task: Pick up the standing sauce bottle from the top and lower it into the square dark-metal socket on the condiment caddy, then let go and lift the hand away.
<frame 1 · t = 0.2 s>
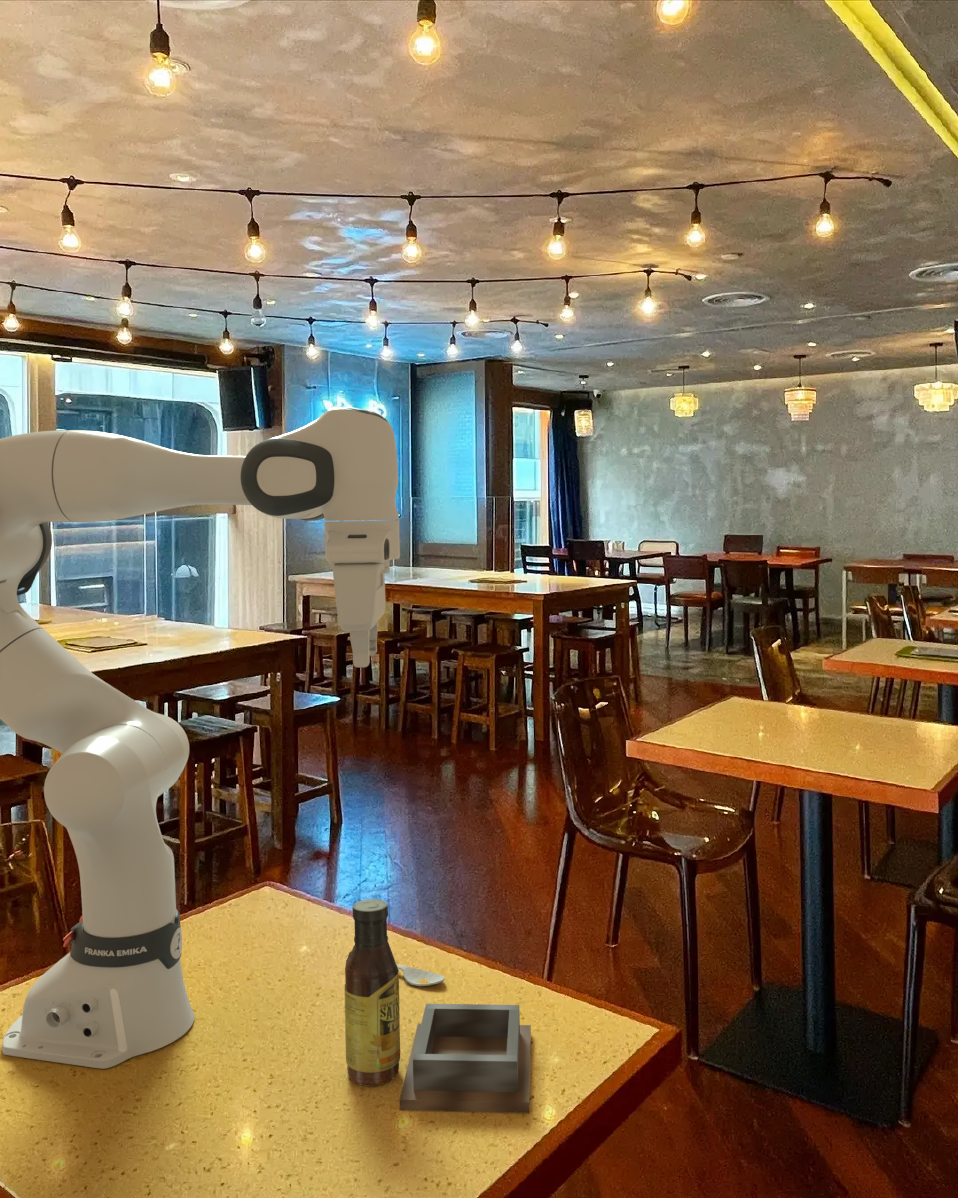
hand: (365, 660, 117), 47 cm above the table, tool pointing down, fingers open, 8 cm apart
sauce bottle: (374, 1075, 112), on the table
spoon: (384, 973, 139), on the table
caddy: (469, 1070, 113), on the table
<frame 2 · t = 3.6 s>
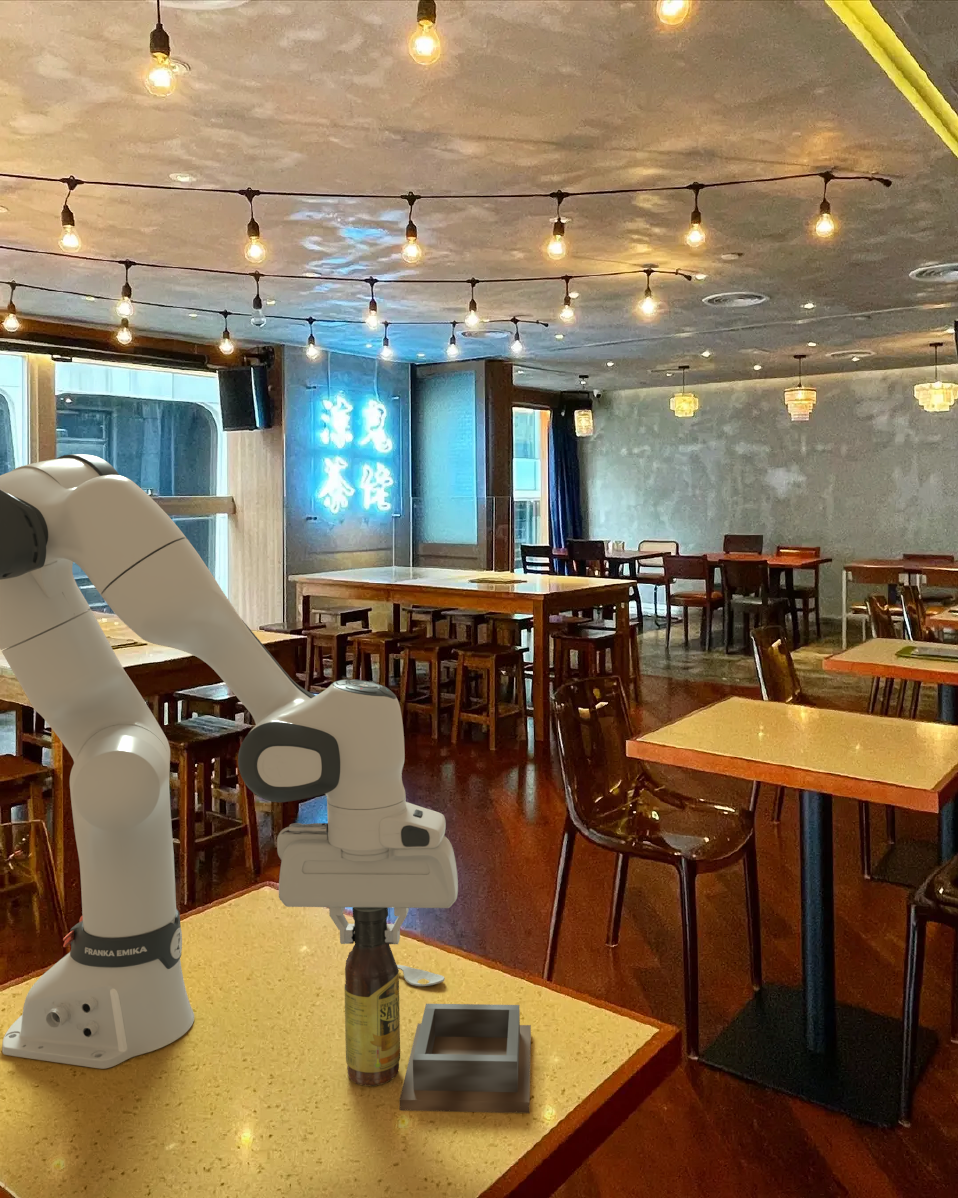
hand: (370, 942, 111), 16 cm above the table, tool pointing down, fingers closed on sauce bottle, 4 cm apart
sauce bottle: (374, 1075, 112), on the table, touching gripper
everything else where it was.
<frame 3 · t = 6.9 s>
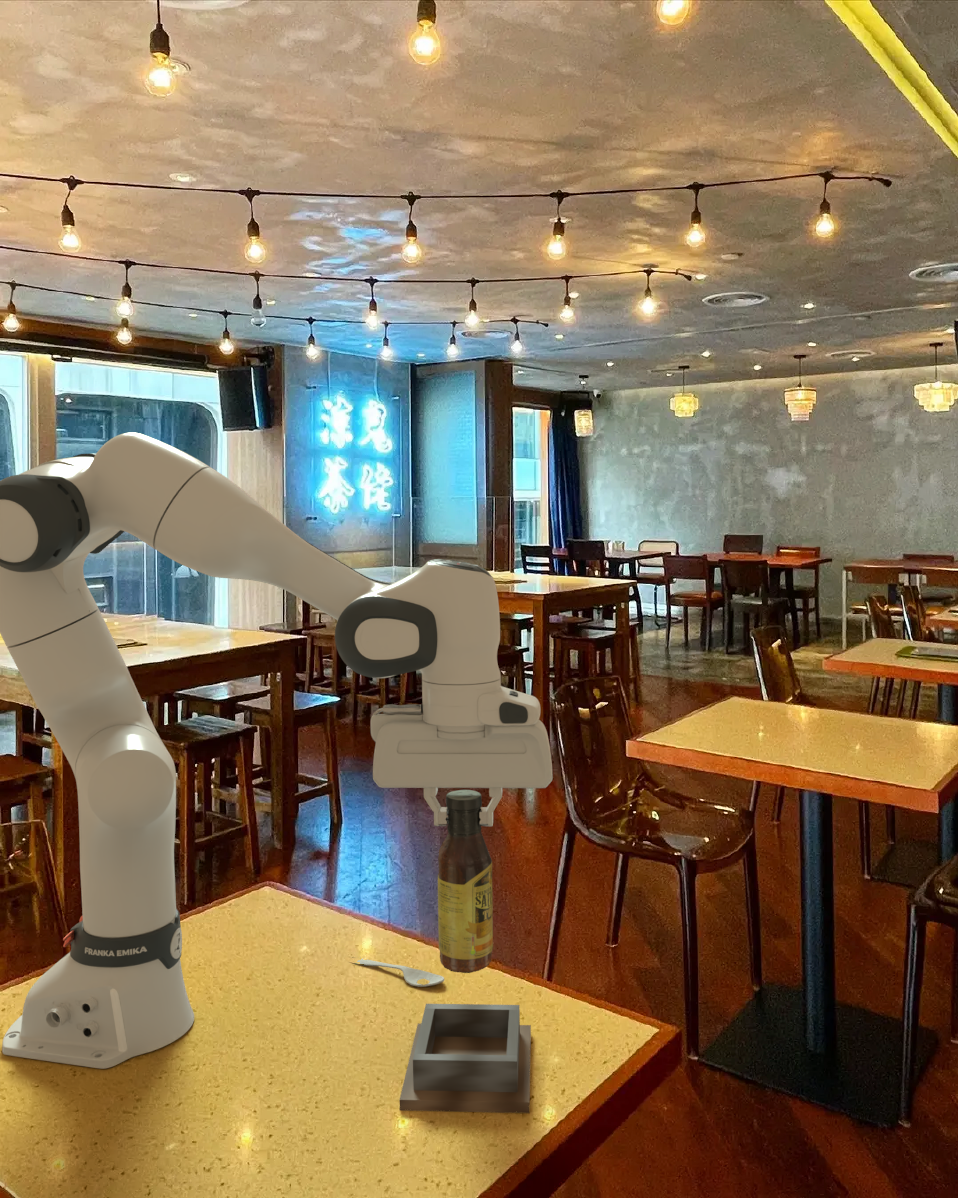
hand: (463, 824, 110), 29 cm above the table, tool pointing down, fingers closed on sauce bottle, 4 cm apart
sauce bottle: (466, 963, 112), point 12 cm above the table, touching gripper
everything else where it was.
when the fingers open (17 cm above the table, at t = 10.4 s): sauce bottle stays where it is, resting on caddy.
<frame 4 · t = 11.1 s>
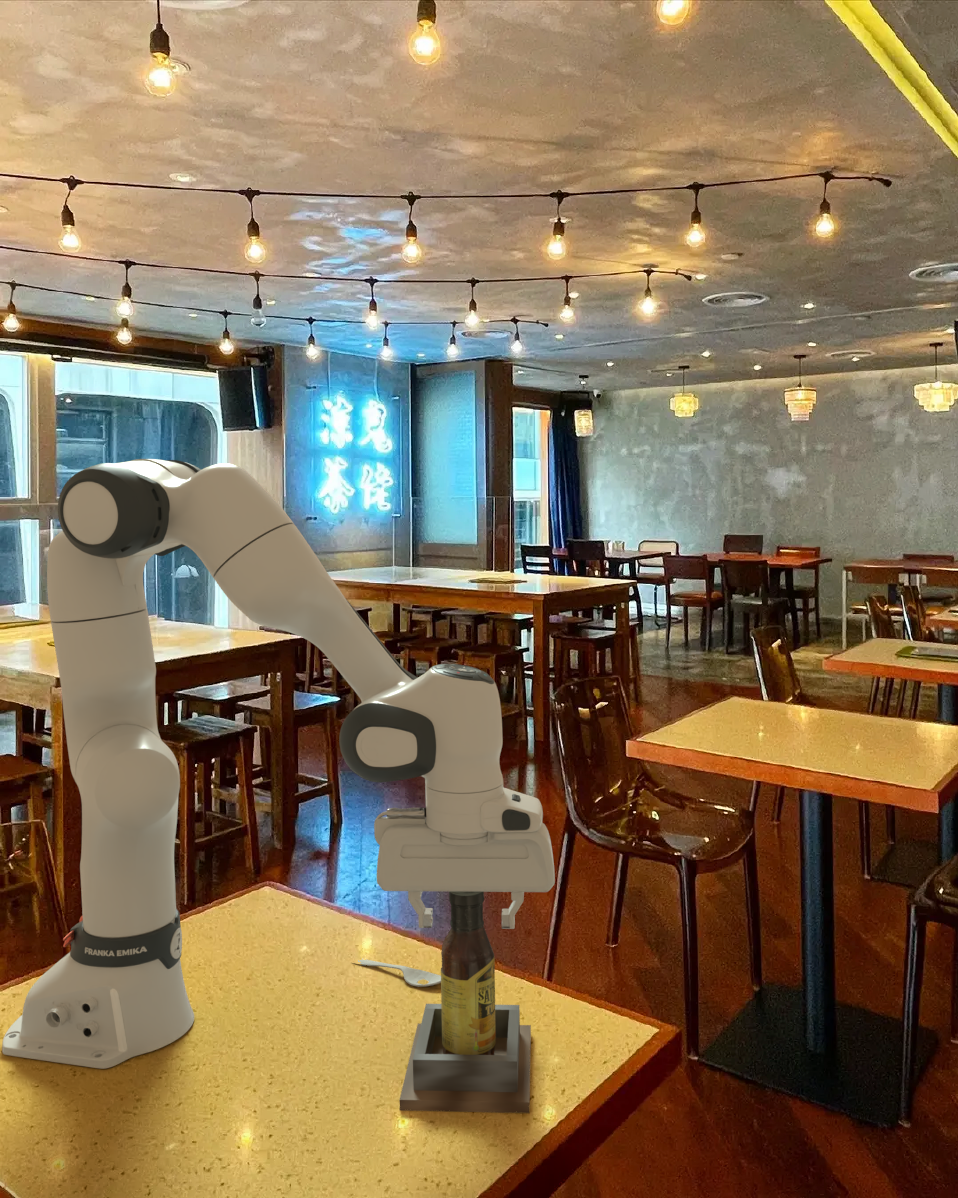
hand: (467, 926, 111), 17 cm above the table, tool pointing down, fingers open, 8 cm apart
sauce bottle: (469, 1058, 113), point 1 cm above the table, touching caddy
everything else where it was.
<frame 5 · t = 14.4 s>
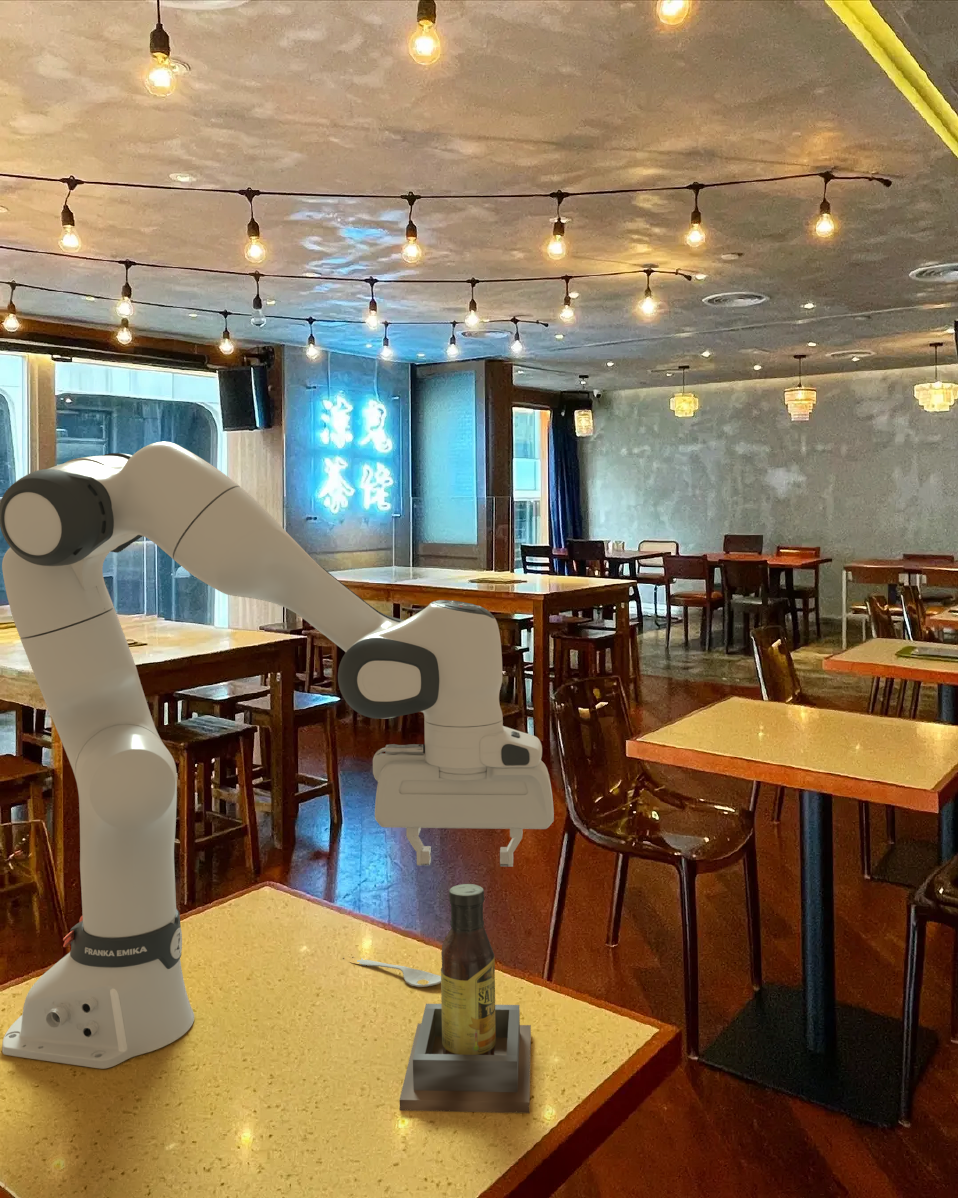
hand: (465, 864, 111), 24 cm above the table, tool pointing down, fingers open, 8 cm apart
nothing on the table moved.
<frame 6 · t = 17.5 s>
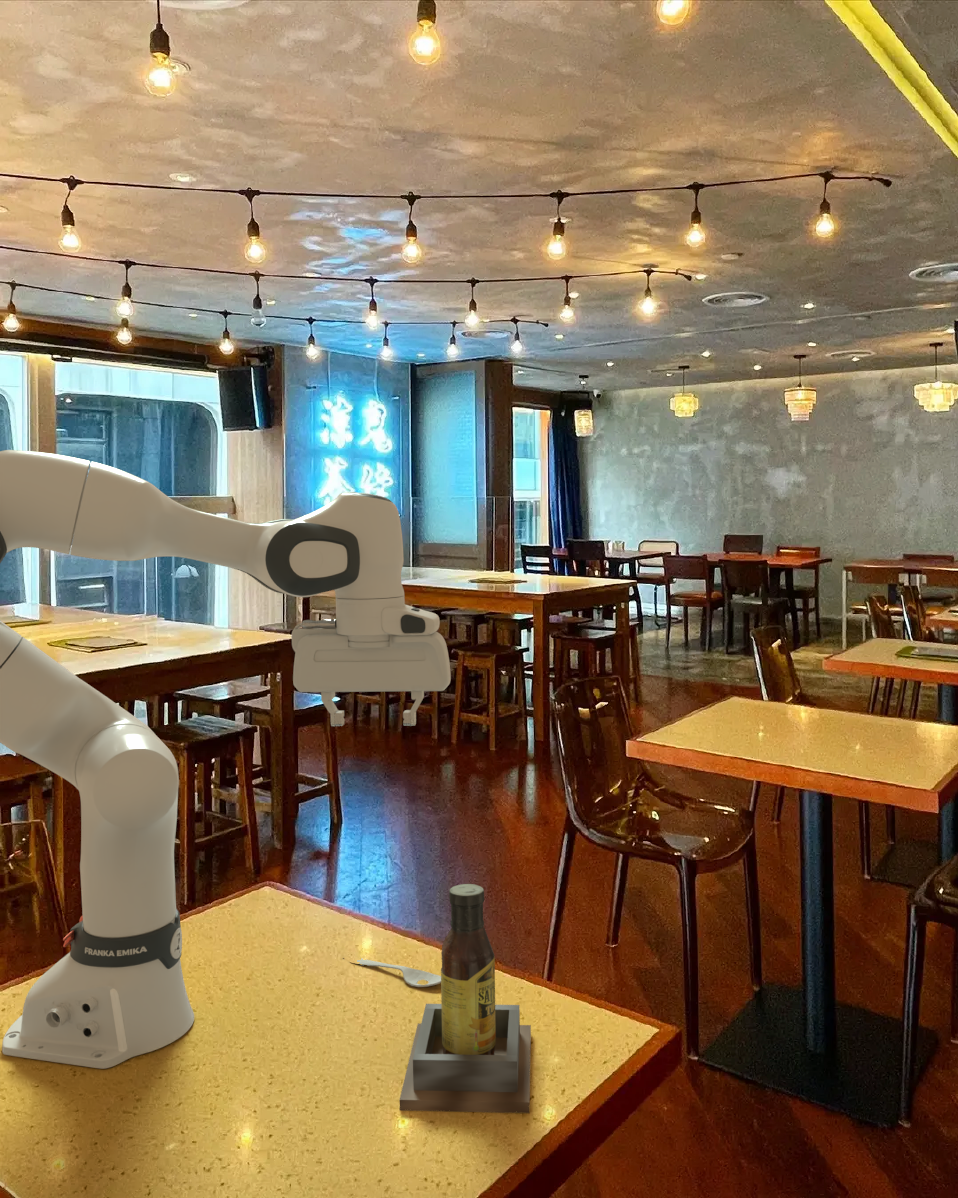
hand: (373, 725, 127), 37 cm above the table, tool pointing down, fingers open, 8 cm apart
nothing on the table moved.
at the end: sauce bottle 0.7 cm off-centre on the caddy, point 1.0 cm above the caddy's base; sauce bottle tilted 0°; the gripper is holding nothing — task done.
